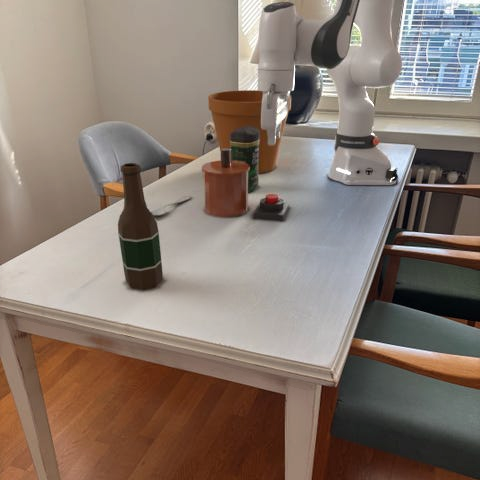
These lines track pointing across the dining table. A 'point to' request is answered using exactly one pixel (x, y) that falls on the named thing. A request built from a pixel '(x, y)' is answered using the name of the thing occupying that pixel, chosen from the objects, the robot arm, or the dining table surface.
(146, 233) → the beer bottle
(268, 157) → the flowerpot
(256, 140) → the coffee jar
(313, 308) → the dining table surface
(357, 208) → the dining table surface
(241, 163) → the lid
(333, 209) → the dining table surface
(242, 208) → the jar
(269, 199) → the button
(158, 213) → the spoon
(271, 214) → the block
